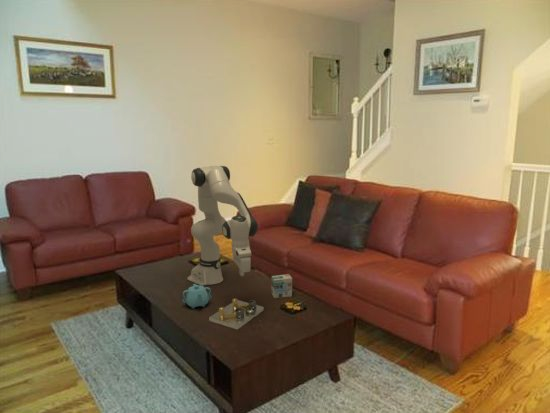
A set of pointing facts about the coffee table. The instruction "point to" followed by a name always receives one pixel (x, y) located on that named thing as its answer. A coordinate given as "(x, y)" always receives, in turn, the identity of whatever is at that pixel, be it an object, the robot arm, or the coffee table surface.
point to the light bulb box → (281, 286)
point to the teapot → (197, 296)
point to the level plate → (236, 321)
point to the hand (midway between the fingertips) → (241, 275)
